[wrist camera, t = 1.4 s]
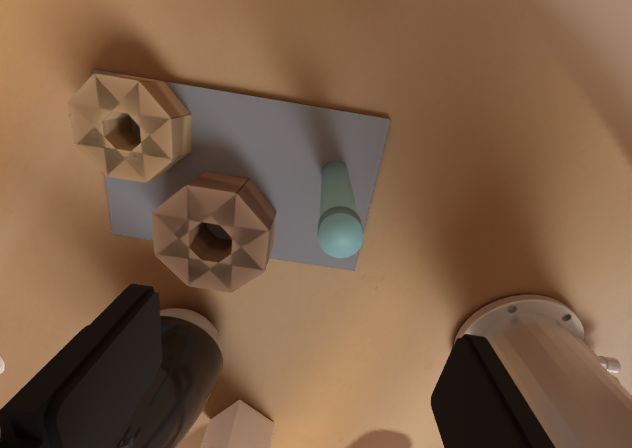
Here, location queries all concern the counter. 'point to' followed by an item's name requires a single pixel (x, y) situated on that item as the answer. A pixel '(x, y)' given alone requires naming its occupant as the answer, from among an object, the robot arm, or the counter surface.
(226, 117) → the mat
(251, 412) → the milk
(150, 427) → the pump dispenser
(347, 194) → the teal rounded rod
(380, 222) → the counter surface
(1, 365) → the foam cup
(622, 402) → the robot arm
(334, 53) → the counter surface
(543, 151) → the counter surface
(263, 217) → the bead
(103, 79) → the oak bead
